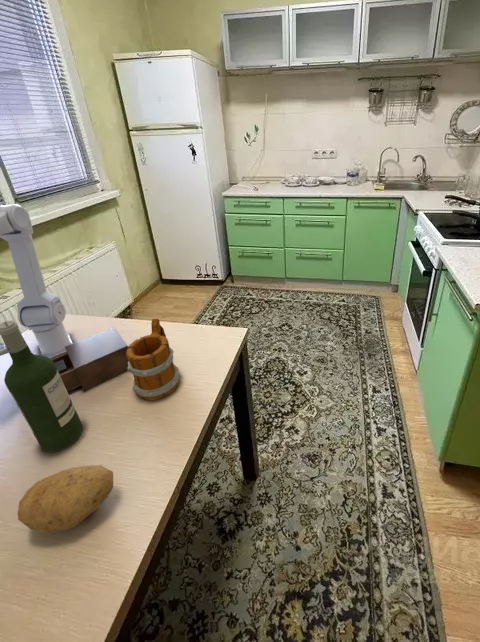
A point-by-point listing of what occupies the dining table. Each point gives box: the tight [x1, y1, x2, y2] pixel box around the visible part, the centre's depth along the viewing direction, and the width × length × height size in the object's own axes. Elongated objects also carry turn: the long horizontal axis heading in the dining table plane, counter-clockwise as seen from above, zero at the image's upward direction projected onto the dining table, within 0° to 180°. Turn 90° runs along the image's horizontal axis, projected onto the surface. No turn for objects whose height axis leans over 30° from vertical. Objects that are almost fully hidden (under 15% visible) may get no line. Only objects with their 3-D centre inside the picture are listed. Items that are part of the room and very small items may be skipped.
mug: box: [126, 318, 180, 401], centre depth 83 cm, size 11×16×15 cm, turn 5°
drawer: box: [51, 352, 82, 393], centre depth 82 cm, size 16×10×6 cm, turn 132°
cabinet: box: [65, 327, 129, 392], centre depth 88 cm, size 13×12×8 cm
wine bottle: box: [0, 320, 84, 453], centre depth 64 cm, size 8×8×30 cm
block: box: [54, 360, 68, 374], centre depth 82 cm, size 4×4×4 cm
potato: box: [17, 464, 114, 533], centre depth 56 cm, size 10×14×8 cm
